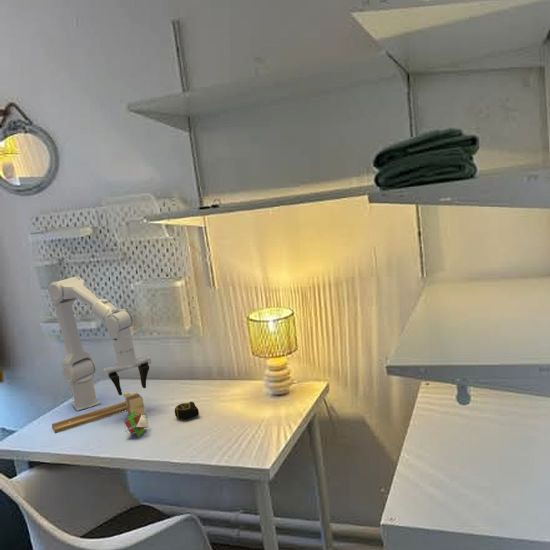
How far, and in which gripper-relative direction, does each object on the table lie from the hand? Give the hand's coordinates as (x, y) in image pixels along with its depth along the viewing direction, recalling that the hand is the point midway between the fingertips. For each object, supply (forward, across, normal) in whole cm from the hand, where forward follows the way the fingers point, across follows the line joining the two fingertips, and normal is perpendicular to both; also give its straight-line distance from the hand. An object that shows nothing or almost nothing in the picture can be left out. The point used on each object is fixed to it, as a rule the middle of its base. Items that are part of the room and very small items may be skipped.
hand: (132, 390), depth 189 cm
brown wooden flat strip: (+8, -10, +9) cm, 16 cm away
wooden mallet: (+8, 0, +3) cm, 9 cm away
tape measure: (+8, +12, -14) cm, 21 cm away
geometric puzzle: (+8, -4, -15) cm, 18 cm away
